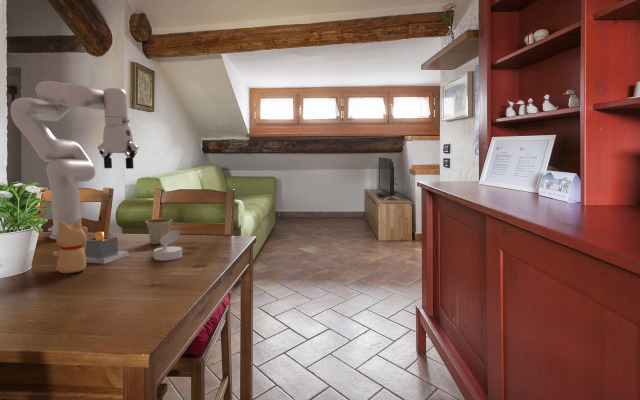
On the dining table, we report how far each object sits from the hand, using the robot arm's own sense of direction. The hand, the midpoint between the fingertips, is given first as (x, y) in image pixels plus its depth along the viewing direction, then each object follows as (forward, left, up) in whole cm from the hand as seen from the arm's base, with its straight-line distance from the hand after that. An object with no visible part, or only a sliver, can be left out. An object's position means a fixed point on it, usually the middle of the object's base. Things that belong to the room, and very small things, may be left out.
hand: (118, 168), depth 144 cm
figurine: (+15, -36, -28) cm, 48 cm away
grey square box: (+12, -23, -27) cm, 37 cm away
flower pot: (+15, +2, -28) cm, 32 cm away
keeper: (+12, -23, -28) cm, 38 cm away
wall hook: (+32, -16, -28) cm, 46 cm away
